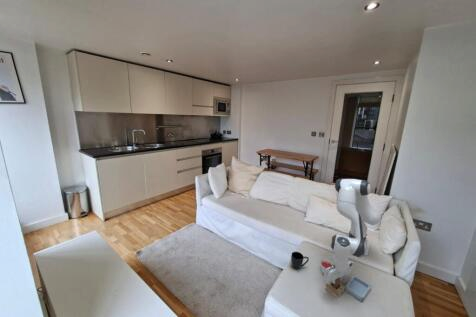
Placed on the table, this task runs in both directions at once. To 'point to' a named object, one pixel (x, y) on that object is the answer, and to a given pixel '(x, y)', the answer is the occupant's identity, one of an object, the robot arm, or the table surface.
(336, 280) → the dowel
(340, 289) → the socket block
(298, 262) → the mug
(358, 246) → the robot arm
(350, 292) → the tray
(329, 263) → the candle
